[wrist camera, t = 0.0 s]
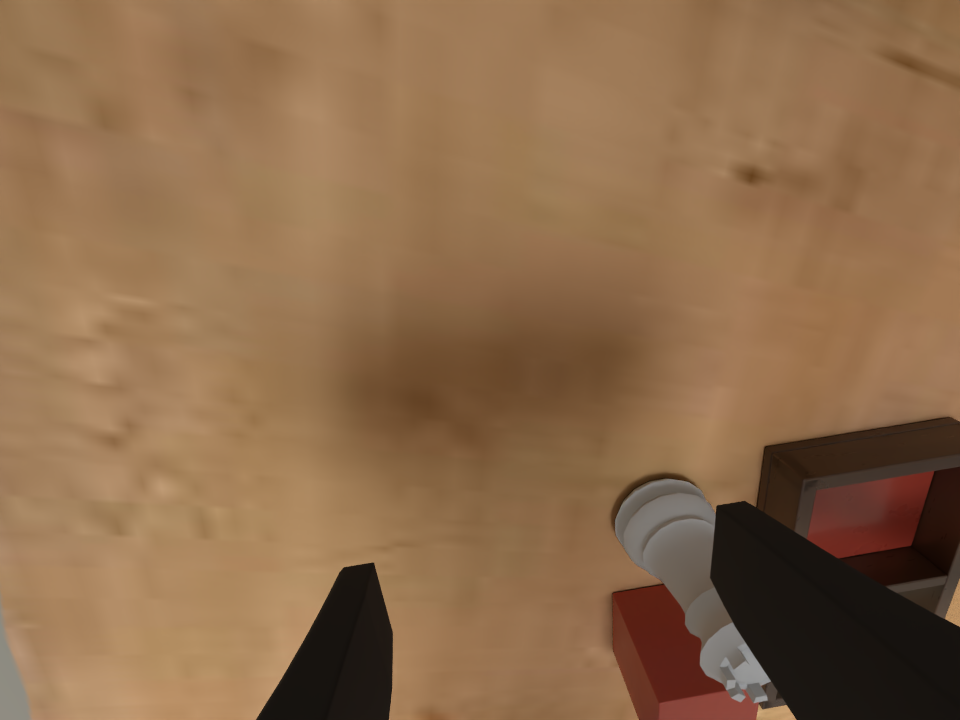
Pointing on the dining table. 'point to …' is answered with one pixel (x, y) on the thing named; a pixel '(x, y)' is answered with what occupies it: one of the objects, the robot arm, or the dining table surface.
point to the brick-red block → (667, 661)
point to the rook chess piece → (689, 575)
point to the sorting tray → (875, 506)
